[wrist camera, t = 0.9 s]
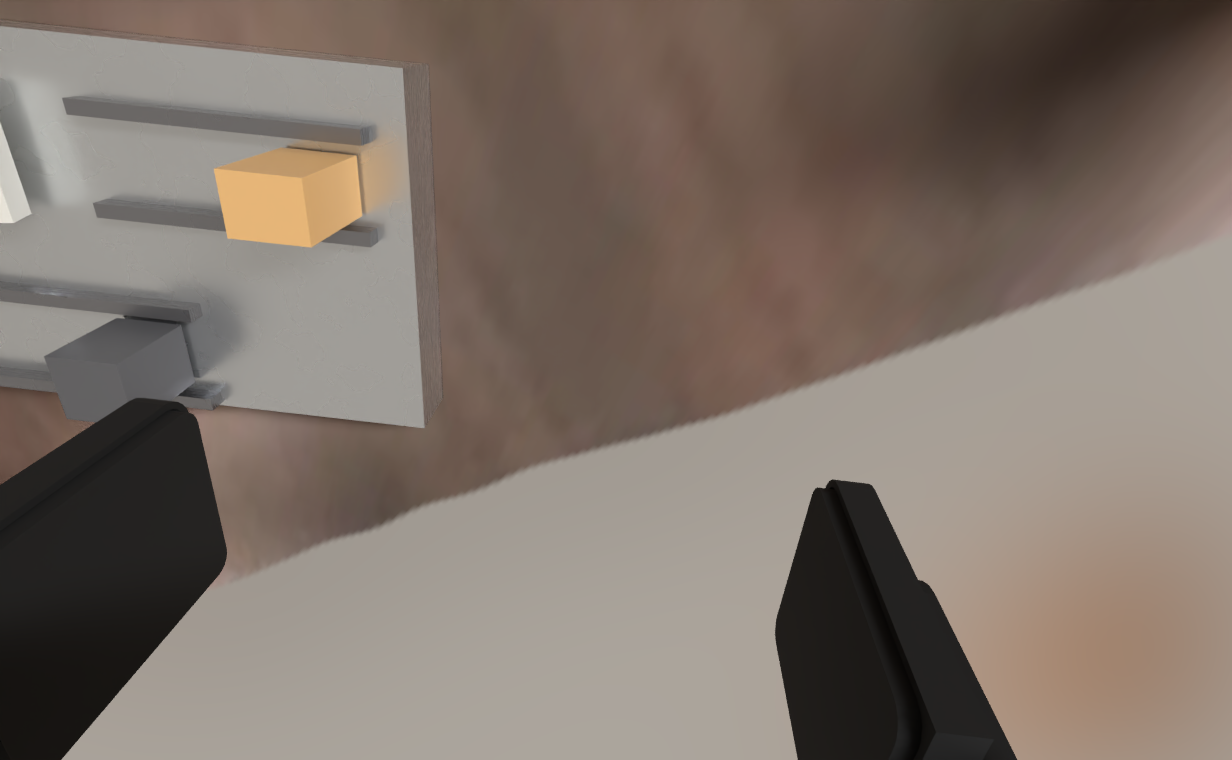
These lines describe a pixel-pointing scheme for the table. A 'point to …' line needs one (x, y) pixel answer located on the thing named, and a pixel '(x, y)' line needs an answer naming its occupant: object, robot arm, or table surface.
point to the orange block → (289, 196)
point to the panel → (220, 218)
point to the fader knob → (120, 367)
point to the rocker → (10, 187)
